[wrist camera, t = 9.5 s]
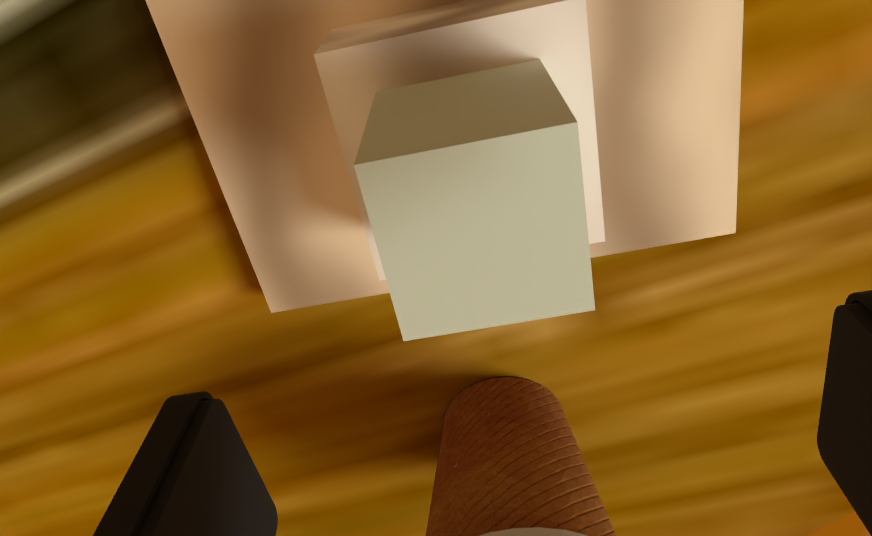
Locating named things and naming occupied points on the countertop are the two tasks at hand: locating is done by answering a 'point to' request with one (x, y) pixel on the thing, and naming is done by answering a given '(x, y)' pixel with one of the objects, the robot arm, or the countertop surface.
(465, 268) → the sage block
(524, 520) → the disposable coffee cup
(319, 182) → the stack base
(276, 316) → the countertop surface
